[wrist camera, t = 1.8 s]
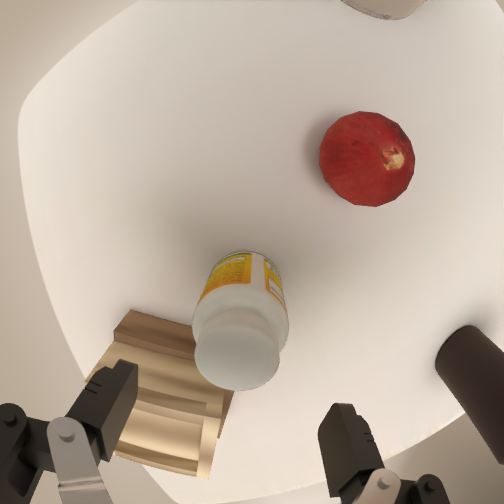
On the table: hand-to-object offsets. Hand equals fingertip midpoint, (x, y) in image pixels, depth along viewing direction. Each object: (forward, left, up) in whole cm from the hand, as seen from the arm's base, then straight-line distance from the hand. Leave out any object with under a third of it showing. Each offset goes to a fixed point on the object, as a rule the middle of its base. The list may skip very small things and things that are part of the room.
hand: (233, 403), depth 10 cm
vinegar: (+3, +25, -12) cm, 28 cm away
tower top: (+10, -4, -9) cm, 14 cm away
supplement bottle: (0, 0, -12) cm, 12 cm away
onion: (-11, +5, -12) cm, 17 cm away
